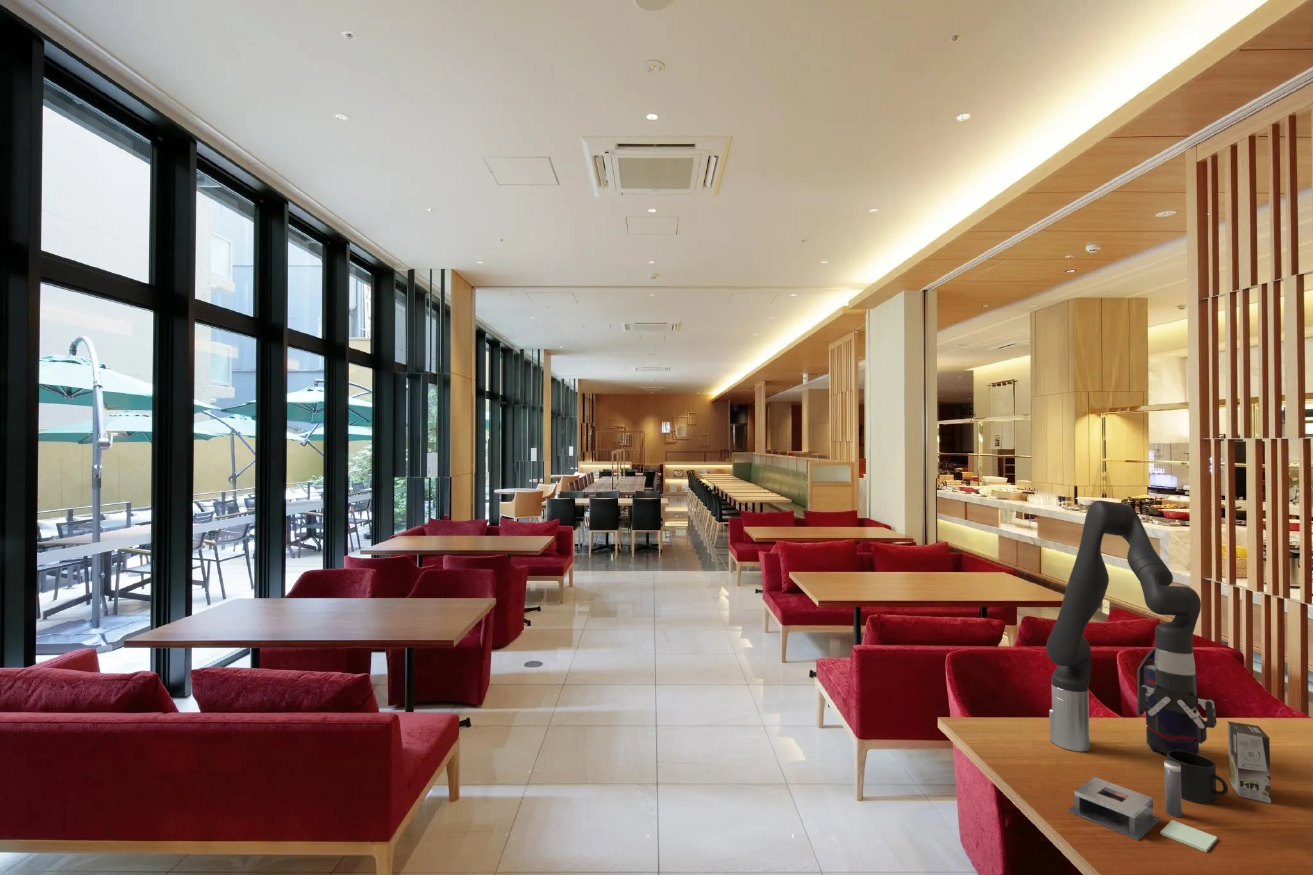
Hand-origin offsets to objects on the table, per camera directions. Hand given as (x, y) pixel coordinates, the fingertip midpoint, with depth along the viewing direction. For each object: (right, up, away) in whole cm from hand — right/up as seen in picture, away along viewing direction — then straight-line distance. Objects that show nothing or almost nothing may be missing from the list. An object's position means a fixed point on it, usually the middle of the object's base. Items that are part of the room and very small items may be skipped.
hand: (1177, 736), depth 150 cm
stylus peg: (-2, -18, -1) cm, 18 cm away
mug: (+11, -19, +7) cm, 23 cm away
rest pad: (-6, -18, -10) cm, 21 cm away
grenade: (+25, -20, +33) cm, 46 cm away
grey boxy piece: (-17, -18, -2) cm, 25 cm away
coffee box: (+27, -19, +9) cm, 34 cm away
